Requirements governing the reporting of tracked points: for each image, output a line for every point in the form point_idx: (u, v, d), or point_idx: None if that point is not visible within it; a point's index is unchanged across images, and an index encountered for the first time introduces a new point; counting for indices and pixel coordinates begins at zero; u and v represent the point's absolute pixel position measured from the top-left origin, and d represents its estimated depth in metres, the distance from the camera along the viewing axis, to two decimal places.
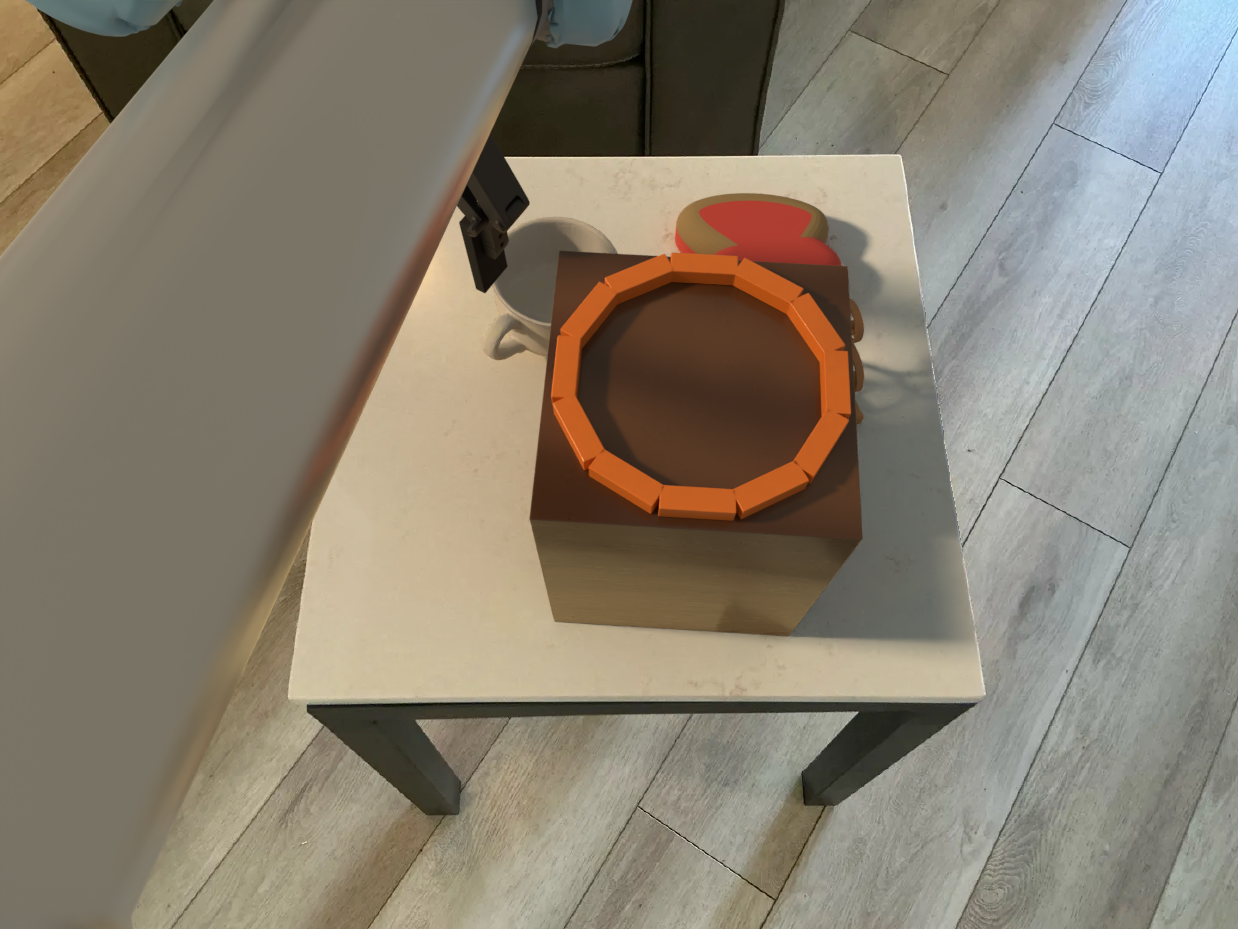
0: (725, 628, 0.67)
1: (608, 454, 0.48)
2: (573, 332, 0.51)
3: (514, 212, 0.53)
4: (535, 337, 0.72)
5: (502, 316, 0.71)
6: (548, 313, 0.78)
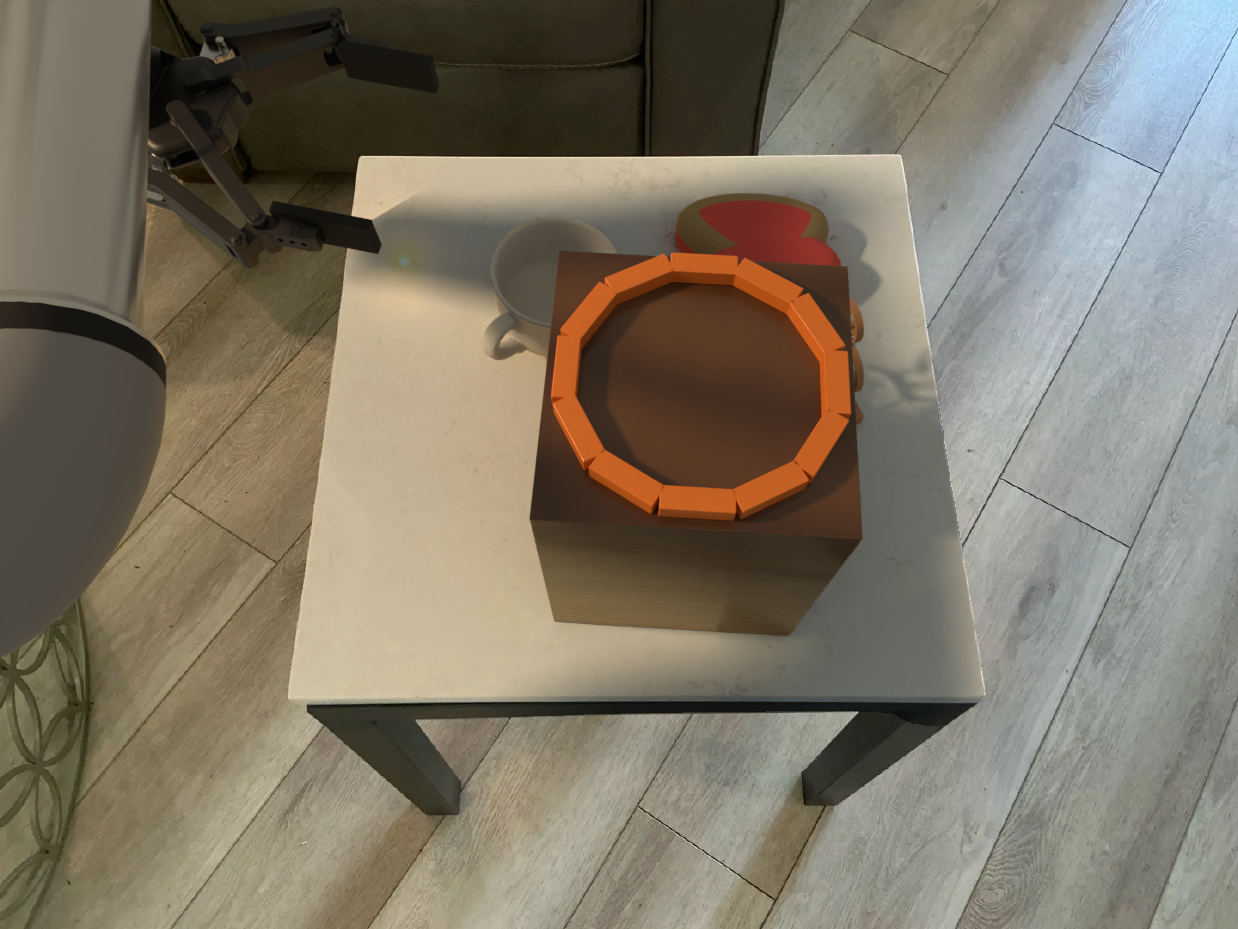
0: (725, 628, 0.67)
1: (608, 454, 0.48)
2: (573, 332, 0.51)
3: None
4: (535, 337, 0.72)
5: (502, 316, 0.71)
6: (548, 313, 0.78)
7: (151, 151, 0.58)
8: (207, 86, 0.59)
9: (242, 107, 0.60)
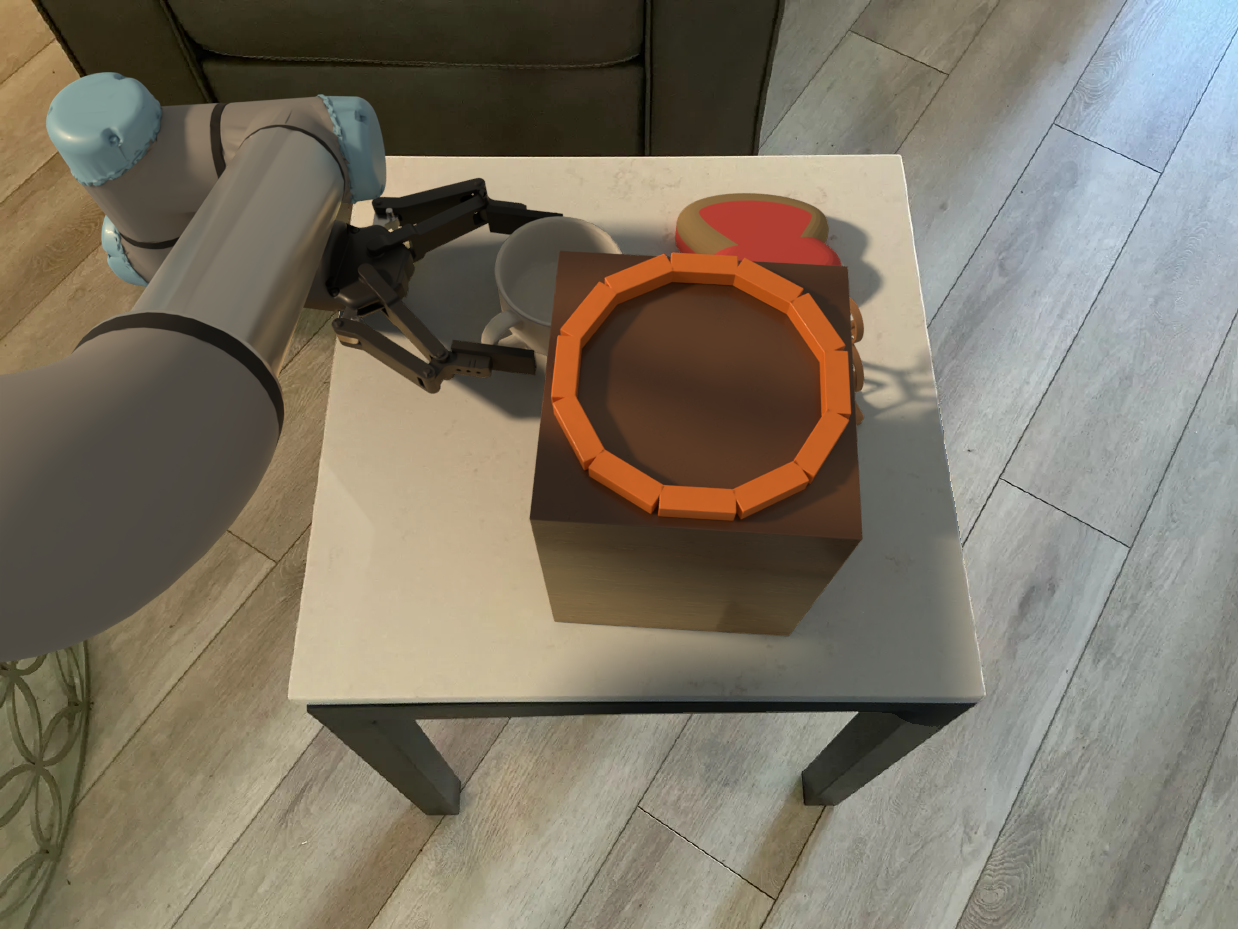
0: (725, 628, 0.67)
1: (608, 454, 0.48)
2: (573, 332, 0.51)
3: None
4: (536, 336, 0.72)
5: (503, 313, 0.71)
6: None
7: (346, 305, 0.72)
8: (386, 249, 0.73)
9: (412, 263, 0.75)
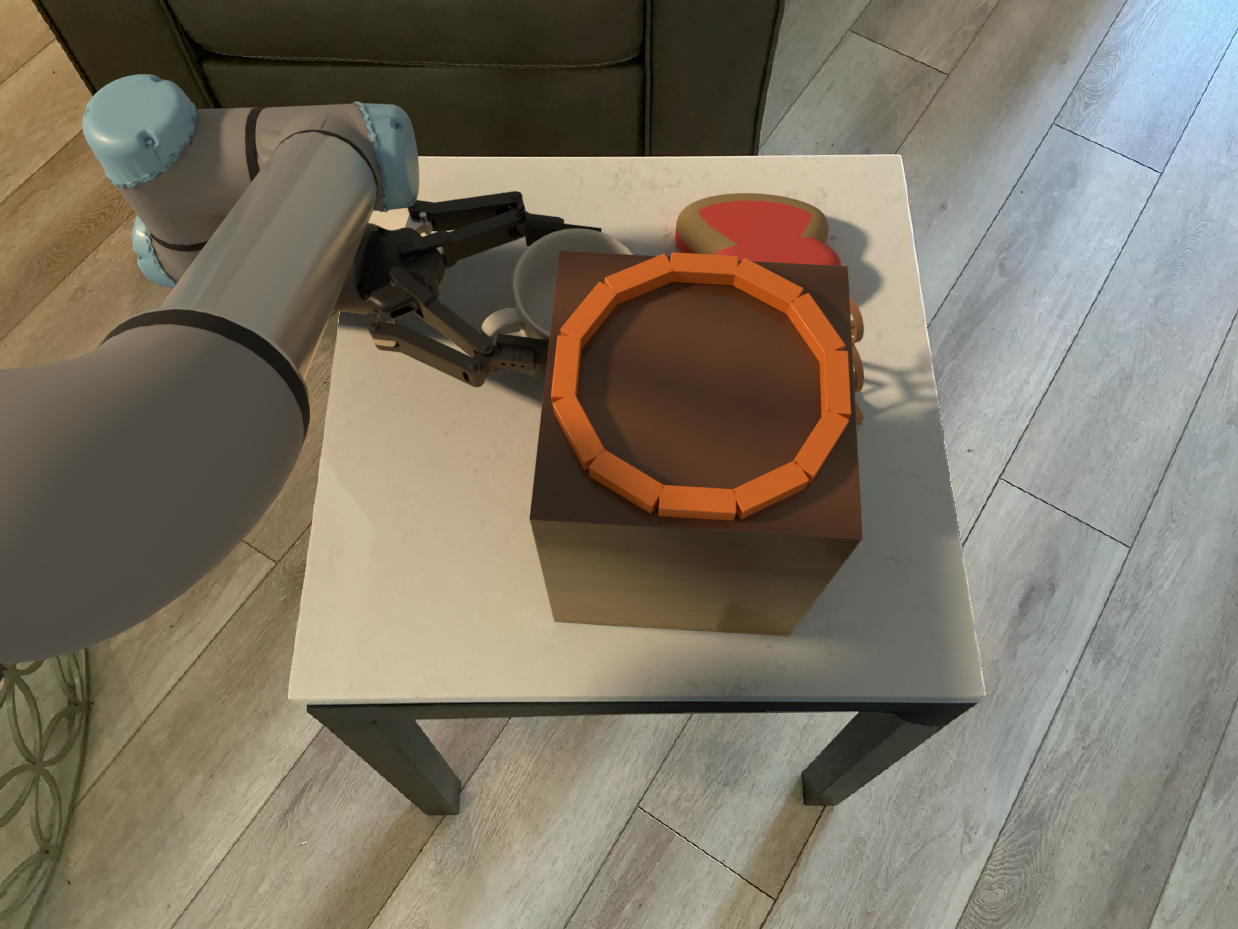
0: (725, 628, 0.67)
1: (608, 454, 0.48)
2: (573, 332, 0.51)
3: None
4: None
5: (508, 309, 0.71)
6: None
7: (378, 308, 0.72)
8: (417, 252, 0.73)
9: (442, 266, 0.74)
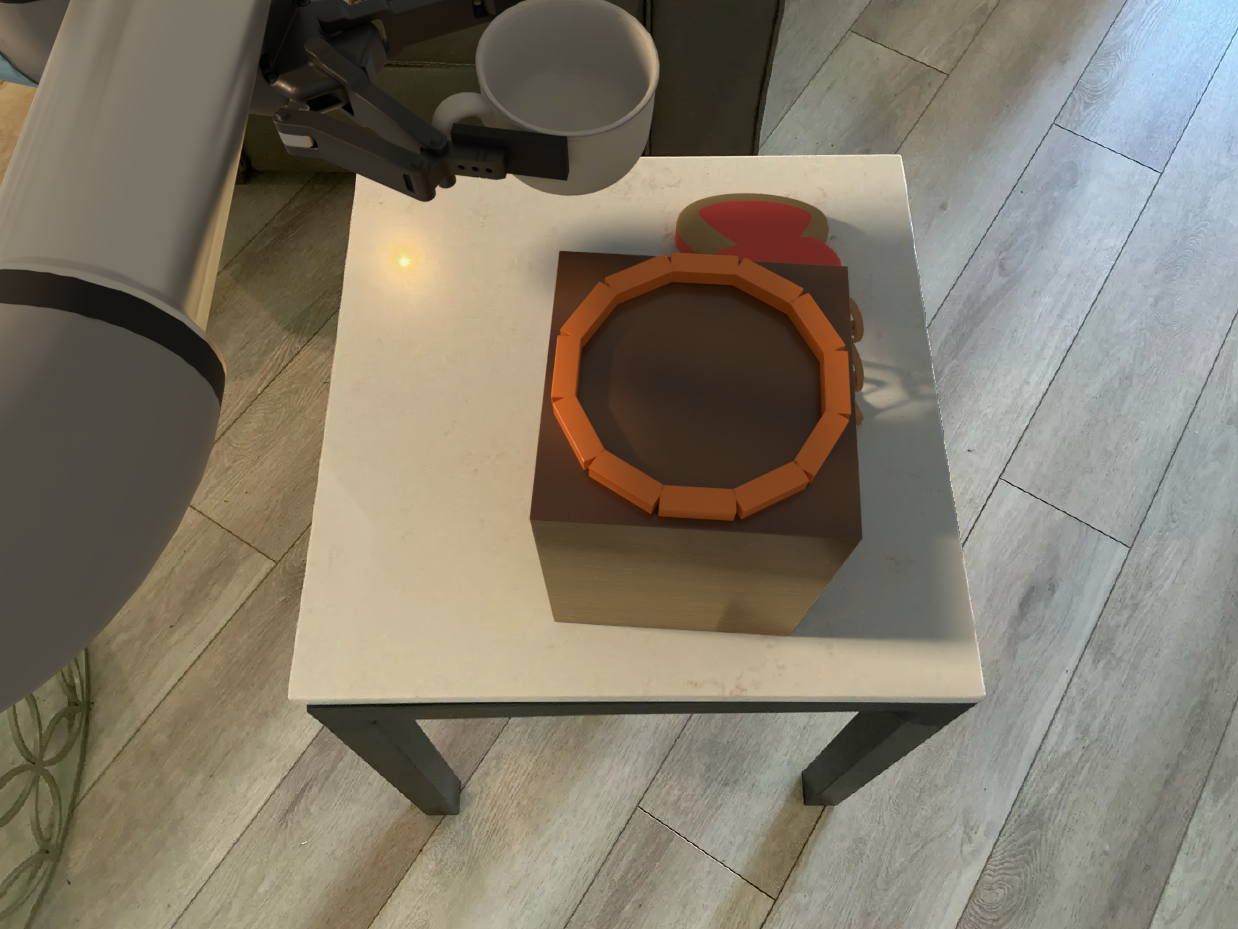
0: (725, 628, 0.67)
1: (608, 454, 0.48)
2: (573, 332, 0.51)
3: None
4: None
5: (469, 93, 0.51)
6: None
7: (288, 94, 0.52)
8: (345, 24, 0.53)
9: (382, 48, 0.54)
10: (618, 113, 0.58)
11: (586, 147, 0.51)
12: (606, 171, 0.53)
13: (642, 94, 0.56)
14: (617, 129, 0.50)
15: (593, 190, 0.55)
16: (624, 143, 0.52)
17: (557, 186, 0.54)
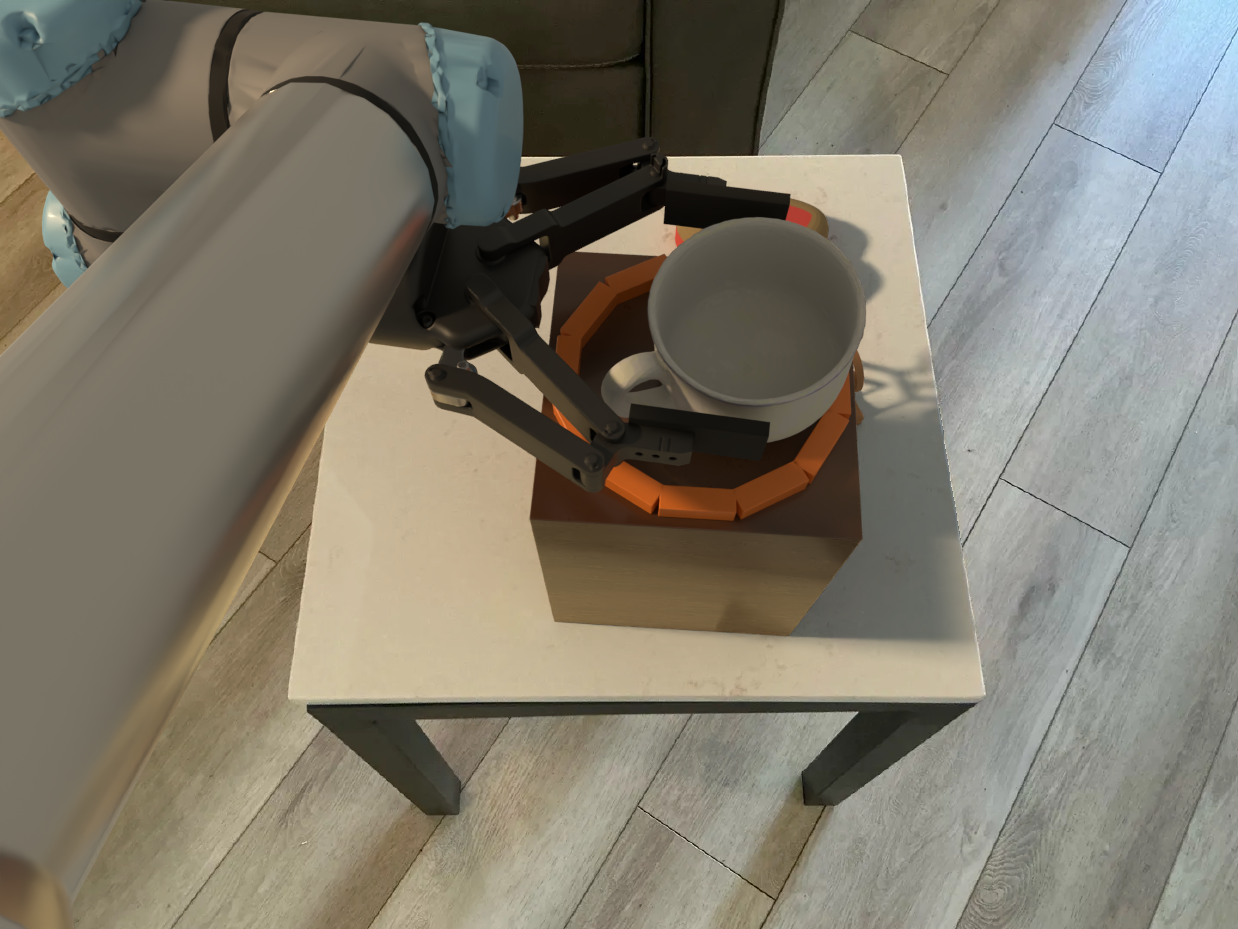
0: (725, 628, 0.67)
1: None
2: (573, 332, 0.51)
3: None
4: (688, 401, 0.45)
5: (643, 355, 0.44)
6: (739, 364, 0.50)
7: (447, 342, 0.43)
8: (509, 250, 0.45)
9: (547, 273, 0.46)
10: (807, 331, 0.50)
11: (782, 410, 0.43)
12: (803, 422, 0.45)
13: (839, 318, 0.47)
14: (819, 389, 0.42)
15: (786, 437, 0.47)
16: (826, 395, 0.44)
17: None
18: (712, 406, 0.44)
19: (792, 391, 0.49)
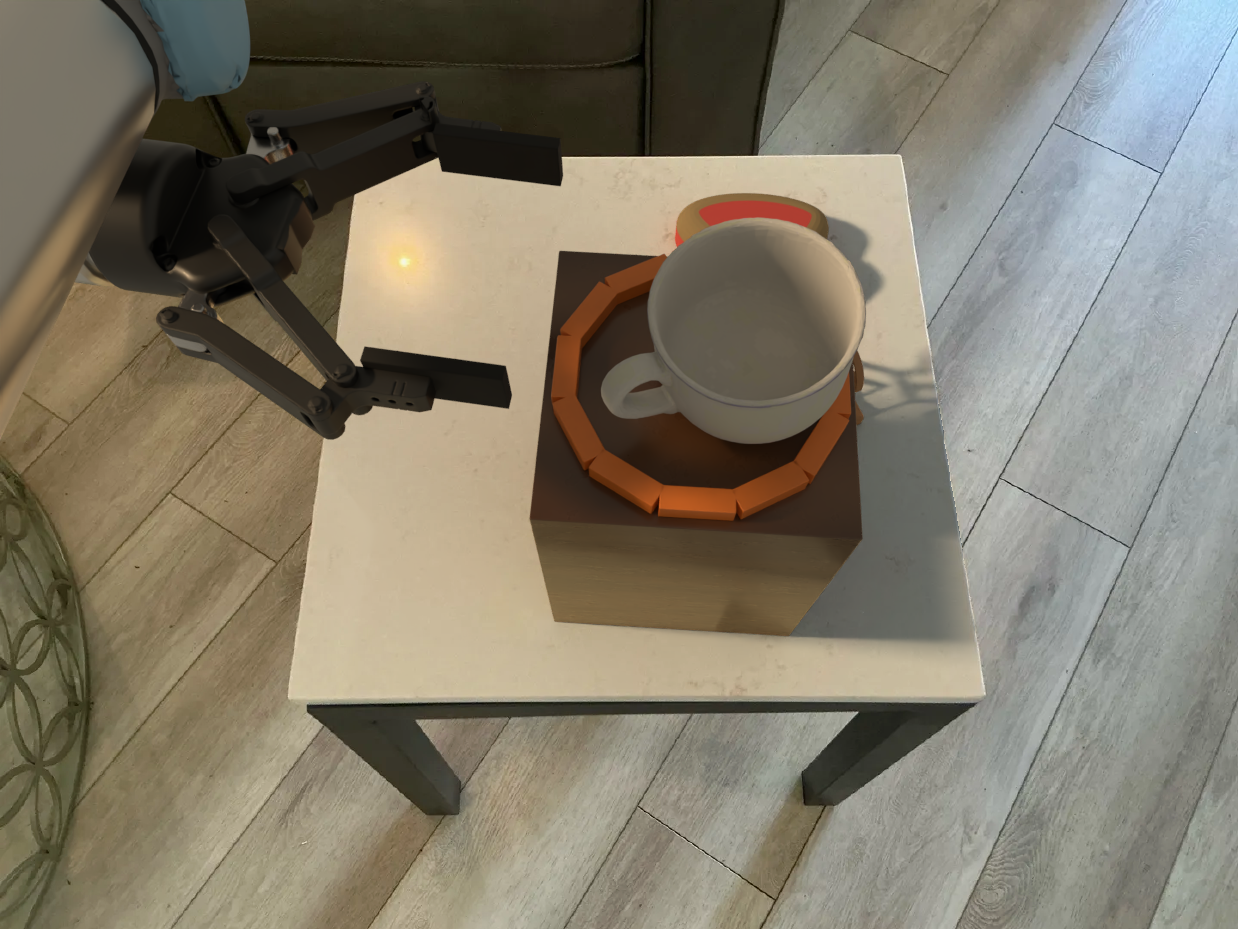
0: (725, 628, 0.67)
1: (608, 454, 0.48)
2: (573, 332, 0.51)
3: None
4: (688, 402, 0.45)
5: (643, 356, 0.44)
6: (739, 364, 0.50)
7: (188, 285, 0.42)
8: (261, 193, 0.44)
9: (308, 218, 0.45)
10: (807, 331, 0.50)
11: (782, 411, 0.43)
12: (803, 423, 0.45)
13: (839, 318, 0.47)
14: (819, 390, 0.42)
15: None
16: (826, 396, 0.44)
17: (745, 440, 0.46)
18: (712, 407, 0.44)
19: (792, 391, 0.49)
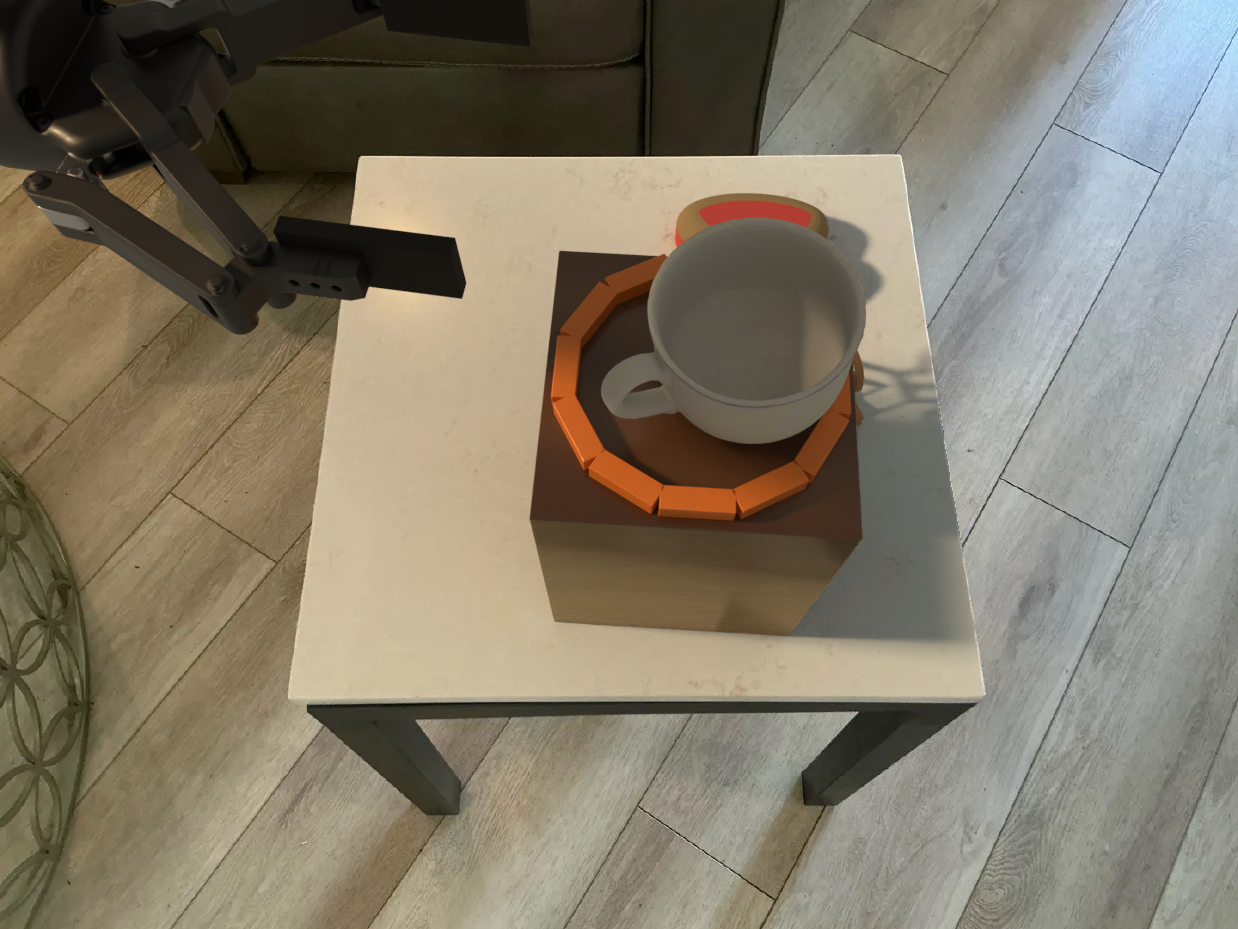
0: (725, 628, 0.67)
1: (608, 454, 0.48)
2: (573, 332, 0.51)
3: None
4: (688, 402, 0.45)
5: (643, 356, 0.44)
6: (739, 364, 0.50)
7: (67, 149, 0.34)
8: (161, 42, 0.36)
9: (221, 76, 0.37)
10: (807, 331, 0.50)
11: (782, 411, 0.43)
12: (803, 423, 0.45)
13: (839, 318, 0.47)
14: (819, 390, 0.42)
15: None
16: (826, 396, 0.44)
17: (745, 440, 0.46)
18: (712, 407, 0.44)
19: (792, 391, 0.49)
